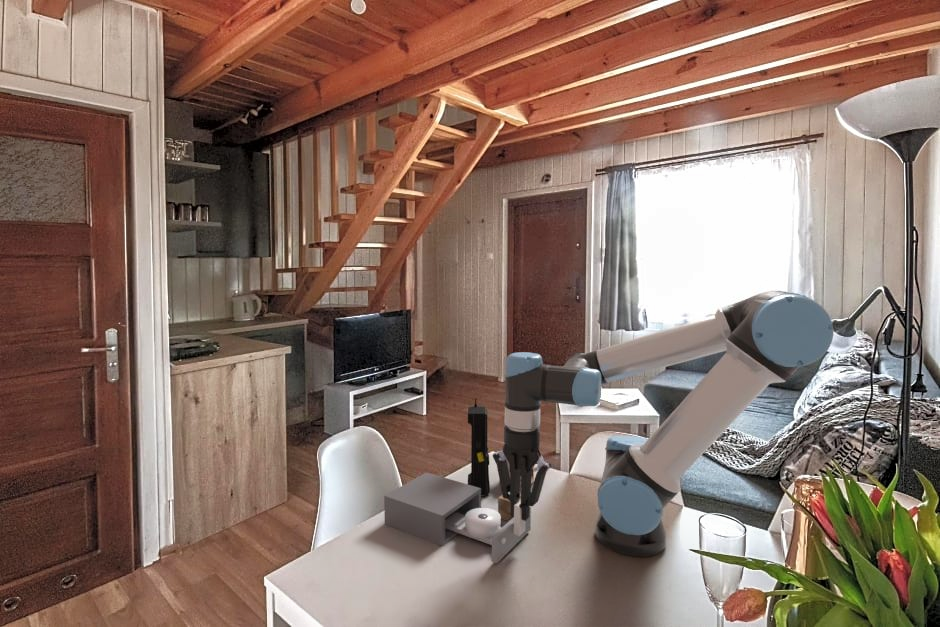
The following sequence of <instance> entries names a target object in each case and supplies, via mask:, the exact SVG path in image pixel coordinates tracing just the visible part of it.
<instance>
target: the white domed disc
mask: <svg viewBox="0 0 940 627" xmlns="http://www.w3.org/2000/svg"><path fill="white" fill-rule="evenodd" d="M501 520H502V519H501V516H500V514H499V513H498V510H495V509H492V508H487V507H481V508H476V509H472V510H470V511H468V512H467V513H466V515H465V530H466V532H467V534H469V535H470V536H472V537H475V538H480V539H486V538H492V536H493V535H494V534H495V533H497V532H498V531H499V530H500V529H501V527H502V526H501V523H502V522H501Z"/></svg>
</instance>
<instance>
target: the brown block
mask: <svg viewBox="0 0 940 627" xmlns="http://www.w3.org/2000/svg"><path fill="white" fill-rule="evenodd" d="M520 497H521V493H520ZM520 500H521V498H520V499H519V501H520ZM497 501H498V502H497V512H498V513H499V514H500V516H501V520H504V521H508V522H509V521H510V520H511V519H512V518H513V517H511V502H510V501H509V500H508V499H507V498H506V499H504V498H503V496H502V494H501V495H500V496H499V497H498V498H497Z"/></svg>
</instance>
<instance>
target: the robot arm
mask: <svg viewBox="0 0 940 627" xmlns="http://www.w3.org/2000/svg"><path fill="white" fill-rule="evenodd" d="M833 339H834V324H833V321H832V319H831V316H830V315H829V313H828V311H827V310H826V309H825V307H823V306H822V305H821V304H819V303H818V302H816V301H815V300H814V299H812V298H809V297H808V296H806V295H805V294H804V295H803V294H801V293H795V292H787V291H781V290H770V291H769V290H768V291H765V292H761V293H758V294H754V295H752V296H750V297H748V298H746V299H743V300H739V301H737V302H734V303H733V304H732V303H731V304H729V305H726V306H723V307H720V308H719V307H718V308H717V311H715V314H713V315H710V316H706V317H704V318H700V319H697V320H694V321H690V322H687V323H684V324H679V325H677V326H674V327H670V328H667V329H663V330H660V331H656V332H654V333H653V332H652V333H650V334H647V335H643V336H640V337H637V338H633V339H630V340H627V341H624V342H620V343H615V344H612V345H610V346H607V347H603V348H600V349H597V350H594V351H590V352H586V353H576V354H574V355H572V356H571V357H569V358H568V359H567V360H566V362H565V364H564V365H563V366H562V365H550V364H545V363H544V362H543V357H542V355H541V354H539V353H536V352H535V353H534V352H528V351H527V352H525V351H524V352H522V351H521V352H520V351H519V352H513V353H510V354H509V355H508V356H507V357H506V360H505V361H506V364H505V374H504V389H505V390H504V420H503V421H504V422H503V424H504V425H505V426H504V429H503V431H504V432H503V442H504V444H503V446H502V450H501V449H499V450H498V451H496V452H494V453H493V454H492V458H493V460H494V461H495V464H496V468H497V473H498V474H497V475H498V479H499V484H500V489H501V495H502V496H503V498H504V499H506V498H507V499H508V500H509V501H510V502H511V517H514V534H515V535H518V536H520V535H521V534H522V533H523V532H524V531H525V527H526V520H527V519H528V518H529V512H530V507H534V506H535V505H536V504H538V502H539V500H540V496H541V493H542V489H543V487H544V483H545V478H546V475H547V472H548V471H549V470H550V468H551V467H552V464H551V462H549V461H547V462H546V461H545V459H544V458H543V459H544V460H543V459H542V458H541V456H542V454H541V451H540V442H541V440H540V438H541V429H540V425H541V406H542V405H541V402H545V403H556V404H563V405H572V406H579V407H596V406H598V405H599V404H600V400H601V394H602V385H605V384H607V383H611V382H614V381H619V380H621V379H625V378H630V377H634V376H636V375H640V374H644V373H647V372H652V371H655V370H659V369H663V368H666V367H670V366H674V365H677V364H681V363H685V362H690V361H692V360H697V359H700V358H704V357H708V356H711V355H715V354H718V353H723V352H725V353H724V354H723V355H722V357H721V358H720V359H719V360H718V361H717V362H716V364H714V365H713V367H712V368H711V369H710V370H709V371H708V372H707V373H706V374H705V376H704V377H702V379H701V380H700V381H699V382H698V383H697V384H696V386H694V388H693V389H692V390H691V391H690V392H689V393H688V394H687V395H686V396H685V398H684V399H683V400H682V401H681V402H680V404H679V405H678V406H677V407H676V408H675V409H674V410H673V411H672V412H671V413H670V414H669V415H668V417H667V418H666V419H665V420H664V421H663V422H662V423H661V425H660V426H659V427H658V428H656V430H655V431H654V432H653V433H652V435H651V436H650V437H649V438H647V437H641V436H633V435H615V436H611V437H608V439H607V440H606V444H605V445H606V446H605V448H604V449H605V461H604V462H605V463H604V464H605V465H604V468H603V473H602V476H601V482H600V485H599V488H598V489H597V506H598V509H599V514H598V516H597V519H596V520H595V521H596V522H595V536H596V539H597V540H598V542H599V543H601V544H602V545H603V546H604V547H606V548H607V549H609V550H611V551H613V552H615V553H619V554H621V555H626V556H630V557H638V558H639V557H640V558H643V557H650V556H651V557H653V556H655V555H658V554H660V553H662V552H663V551H664V550H665V548H666V543H667V542H666V541H667V535H666V530H665V526H664V522H663V519H662V517H663V515H664V508H666V506H668V504H669V503H670V502H671V501H672V500H673V499H674V498H675V497H676V496H677V495H678V494H679V493H680V492H681V489H682V488H681V480H680V479H681V477H682V476H683V475H684V474H686V473H687V471H688V470H689V469H690V468H691V467H692V466H693V465H694V464H695V462H697V461H698V460H699V458H701V456H703V455H704V453H705V452H706V451H707V450H708V449H709V448H710V446H713V444H714V442H716V441H717V440H718V439H719V437H721V435H723V433H725V431H726V430H727V429H728V428H729V427H730V426H731V424H733V423H734V422H735V421H736V419H737V418H739V417H740V416H741V414H742V413H743V412H744V411H745V410H746V409H747V408H748V407H749V406H750V405H751V404H752V403H753V402H754V401H755V399H756V398H758V397H759V395H761V393H762V392H763V391H765V389H766V388H767V387H768V386H769V385H770V384H776V383H777V384H778V383H785V382H786V381H787V380H788V379H789V378H790V377H791V376H792V375H793V374H794V373H795V372H796V371H798V369H799V368H801V367H804V366H808V365H810V364H812V363H814V362H817V361H819V359H821V358H822V357H823V356H824V355H826V353H827V352H828V350H829V349H830V347H831V344H832V342H833ZM506 459H507V460H508V462H509V464H510V468H509V470H508V465H507V460H506ZM535 465H537V466H536V467H537V470H538V471H536V475H535V476H534V482H533V483H532V484H533V485H532V484H531V473H532V470H533V466H534V467H535ZM509 472H510V475H509ZM520 476H521V487H520ZM520 494H521V497H520ZM520 498H521V500H520V501H519V499H520Z"/></svg>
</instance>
